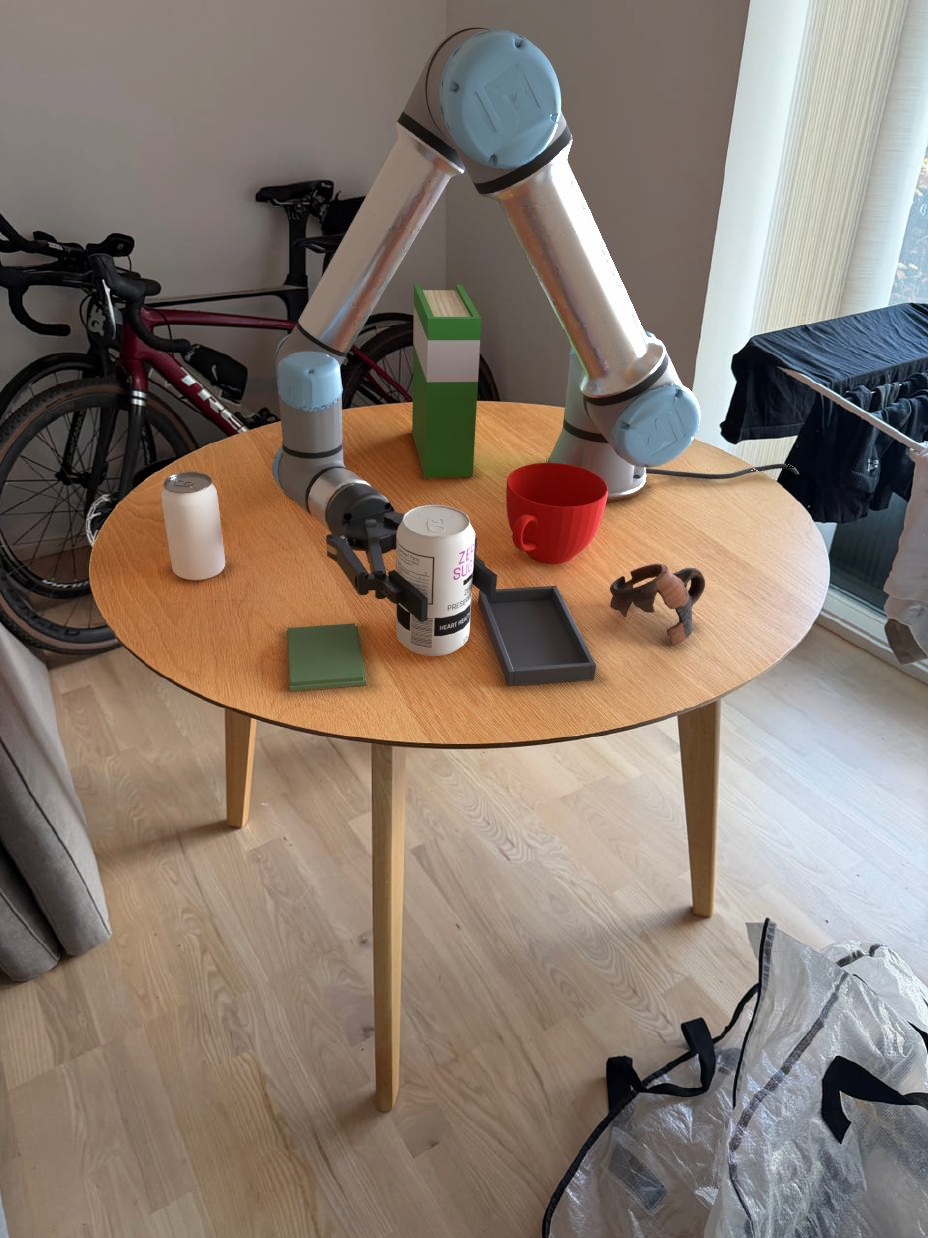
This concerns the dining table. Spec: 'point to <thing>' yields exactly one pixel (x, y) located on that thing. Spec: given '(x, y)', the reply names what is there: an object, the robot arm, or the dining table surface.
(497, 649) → the pan
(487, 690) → the dining table surface
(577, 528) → the ceramic cup
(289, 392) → the robot arm
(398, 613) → the supplement can
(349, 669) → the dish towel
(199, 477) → the can
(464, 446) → the hardback book
